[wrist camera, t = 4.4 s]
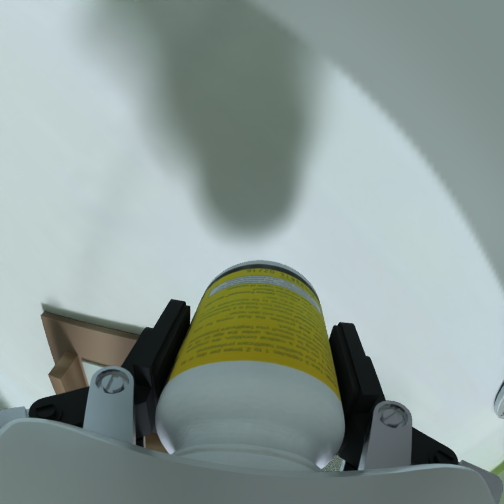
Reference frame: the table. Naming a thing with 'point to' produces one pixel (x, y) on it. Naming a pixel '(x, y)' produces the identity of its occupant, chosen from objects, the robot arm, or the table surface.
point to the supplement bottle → (254, 376)
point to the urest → (86, 355)
